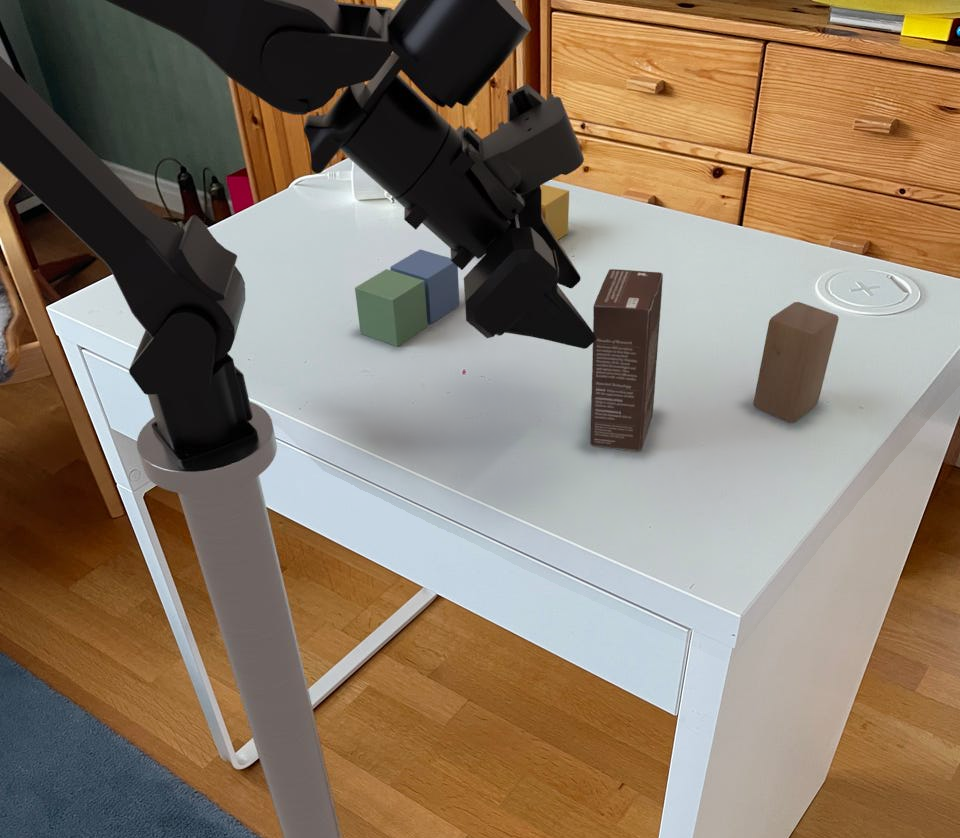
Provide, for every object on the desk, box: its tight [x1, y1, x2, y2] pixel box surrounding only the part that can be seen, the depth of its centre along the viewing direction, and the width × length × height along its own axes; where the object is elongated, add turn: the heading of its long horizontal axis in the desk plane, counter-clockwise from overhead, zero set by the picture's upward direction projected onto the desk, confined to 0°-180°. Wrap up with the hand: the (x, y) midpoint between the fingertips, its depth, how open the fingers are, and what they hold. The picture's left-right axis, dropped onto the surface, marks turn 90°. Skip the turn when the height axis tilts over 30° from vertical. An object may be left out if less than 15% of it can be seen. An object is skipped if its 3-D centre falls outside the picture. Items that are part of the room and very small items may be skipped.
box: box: [589, 268, 664, 452], centre depth 75 cm, size 6×4×12 cm
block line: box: [354, 184, 570, 347], centre depth 97 cm, size 29×4×4 cm, turn 144°
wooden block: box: [752, 301, 840, 424], centre depth 78 cm, size 4×4×8 cm
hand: (583, 311), depth 72 cm, fingers open, 9 cm apart
